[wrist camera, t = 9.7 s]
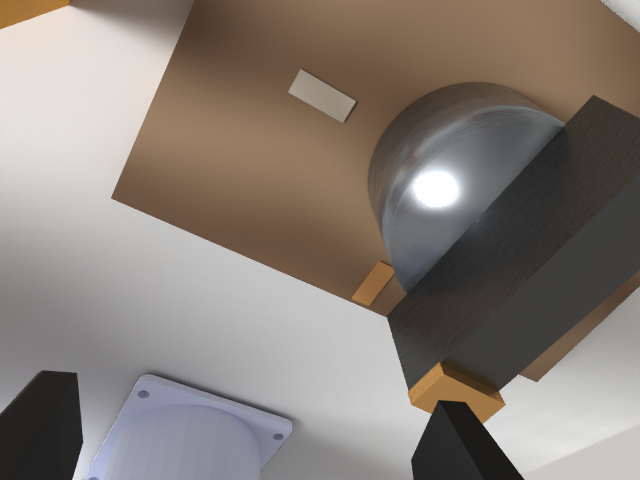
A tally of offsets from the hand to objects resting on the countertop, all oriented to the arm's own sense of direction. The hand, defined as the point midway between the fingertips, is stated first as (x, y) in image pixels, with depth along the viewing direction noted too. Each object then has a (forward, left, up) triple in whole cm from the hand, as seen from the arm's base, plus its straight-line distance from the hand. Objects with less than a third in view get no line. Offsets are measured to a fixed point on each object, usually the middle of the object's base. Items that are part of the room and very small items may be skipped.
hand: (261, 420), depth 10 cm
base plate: (+5, -5, -10) cm, 12 cm away
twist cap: (+5, -5, -9) cm, 11 cm away
